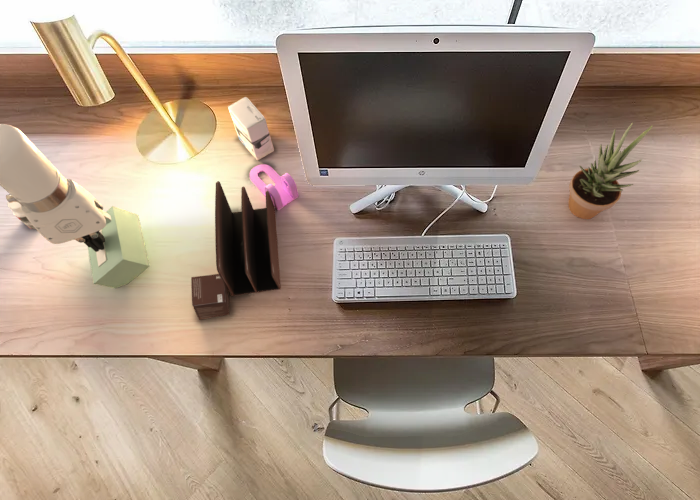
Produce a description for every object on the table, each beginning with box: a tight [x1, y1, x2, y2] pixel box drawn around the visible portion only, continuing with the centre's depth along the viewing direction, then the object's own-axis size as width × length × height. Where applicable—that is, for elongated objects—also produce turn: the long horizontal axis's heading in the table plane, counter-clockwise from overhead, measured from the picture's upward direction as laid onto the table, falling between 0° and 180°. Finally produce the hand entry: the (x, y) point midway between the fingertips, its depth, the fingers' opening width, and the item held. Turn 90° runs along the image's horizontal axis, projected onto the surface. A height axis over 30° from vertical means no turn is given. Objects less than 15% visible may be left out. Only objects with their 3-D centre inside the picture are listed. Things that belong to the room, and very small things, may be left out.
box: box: [190, 273, 230, 321], centre depth 94 cm, size 6×6×7 cm
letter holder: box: [214, 180, 282, 297], centre depth 96 cm, size 10×20×14 cm, turn 8°
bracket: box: [248, 163, 300, 211], centre depth 107 cm, size 13×6×7 cm, turn 39°
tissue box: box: [87, 205, 151, 289], centre depth 99 cm, size 6×13×9 cm
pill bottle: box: [6, 201, 36, 230], centre depth 105 cm, size 5×5×8 cm
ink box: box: [227, 96, 275, 161], centre depth 111 cm, size 8×5×12 cm, turn 37°
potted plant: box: [567, 122, 654, 220], centre depth 94 cm, size 10×10×25 cm
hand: (99, 244), depth 96 cm, fingers closed
